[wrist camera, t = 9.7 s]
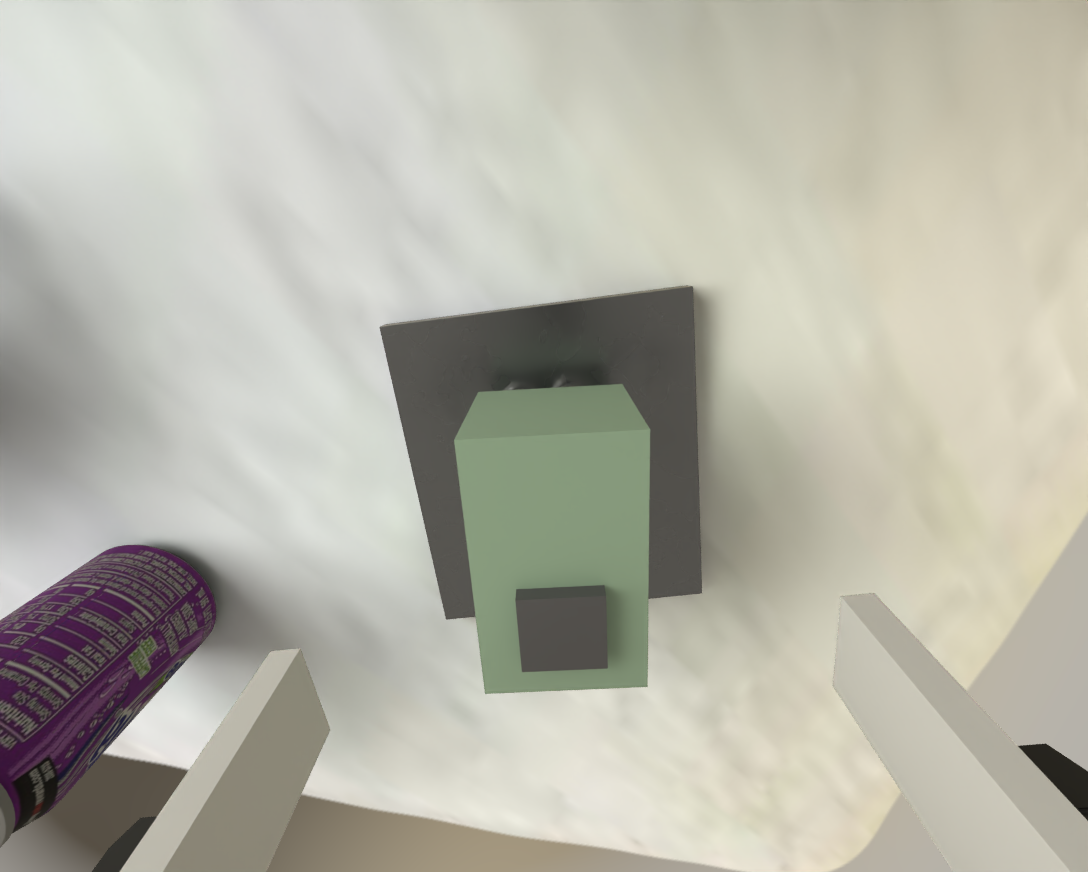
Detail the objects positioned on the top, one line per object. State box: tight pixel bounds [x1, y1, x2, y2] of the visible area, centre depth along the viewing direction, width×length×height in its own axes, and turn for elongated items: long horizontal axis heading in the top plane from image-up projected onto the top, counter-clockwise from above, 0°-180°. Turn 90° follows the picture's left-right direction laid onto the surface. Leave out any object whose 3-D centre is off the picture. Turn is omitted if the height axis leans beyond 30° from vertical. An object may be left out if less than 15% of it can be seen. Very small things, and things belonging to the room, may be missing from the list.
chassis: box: [380, 285, 702, 619], centre depth 25 cm, size 16×14×4 cm
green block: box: [454, 384, 650, 694], centre depth 20 cm, size 10×6×7 cm, turn 3°
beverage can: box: [0, 545, 216, 847], centre depth 23 cm, size 7×7×12 cm
